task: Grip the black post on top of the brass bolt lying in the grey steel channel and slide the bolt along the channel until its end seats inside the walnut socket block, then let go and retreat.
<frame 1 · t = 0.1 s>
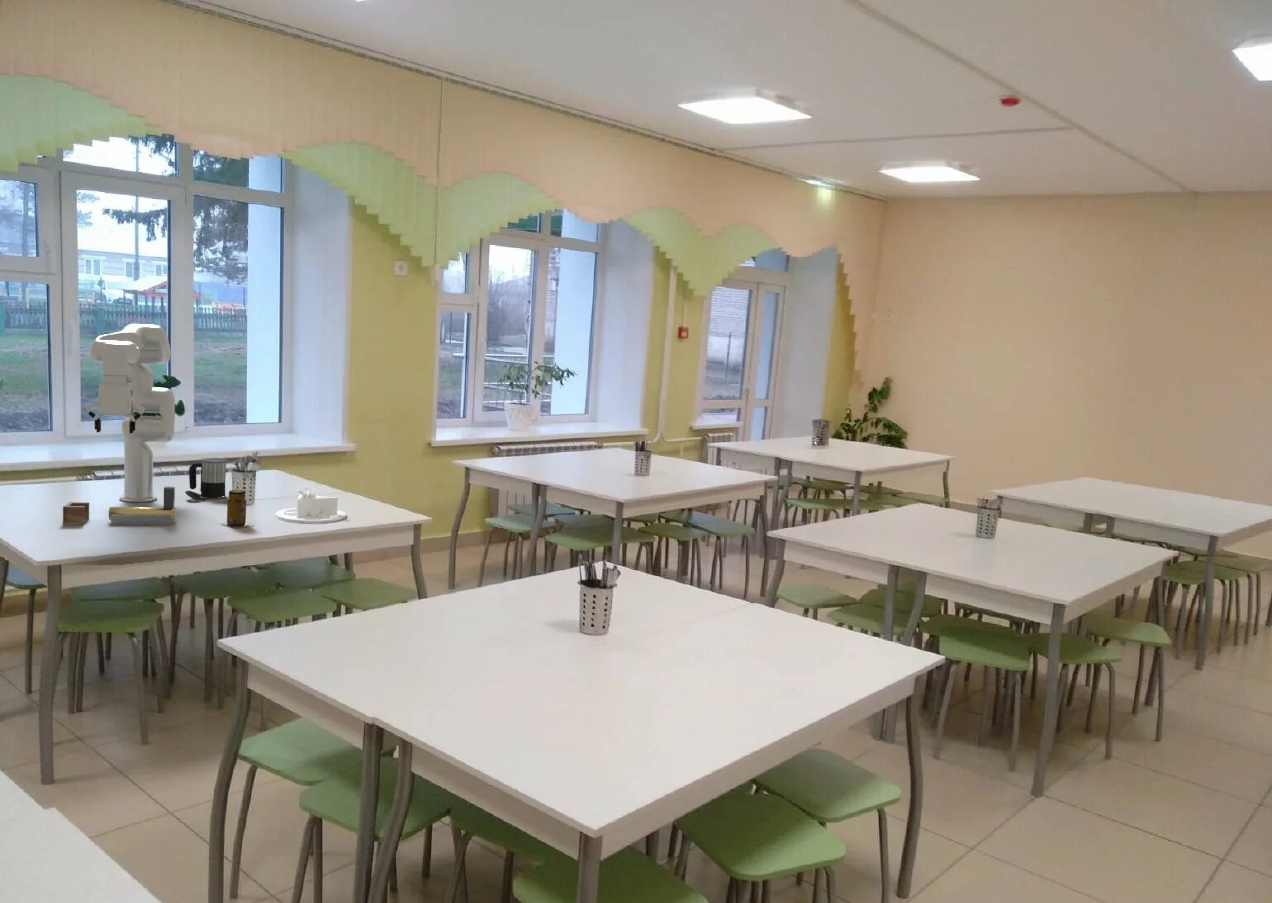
hand: (115, 432, 315), 31 cm above the table, tool pointing down, fingers open, 9 cm apart
milk frother: (206, 498, 373), on the table
condiment: (237, 525, 332), on the table
bolt: (143, 503, 325), point 7 cm above the table, slide at 0.0 cm
channel: (142, 522, 325), on the table
socket: (76, 522, 319), on the table
dish: (310, 517, 355), on the table
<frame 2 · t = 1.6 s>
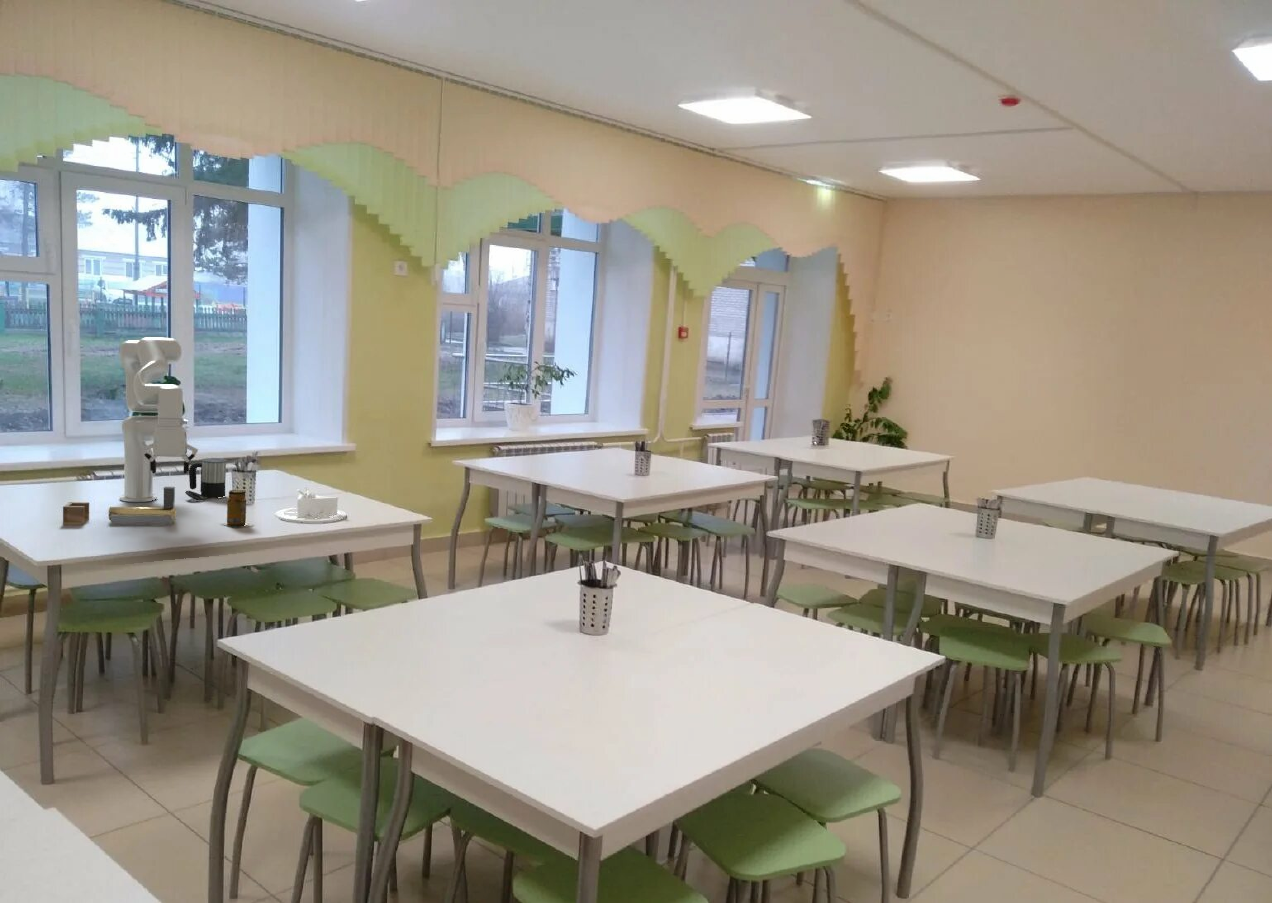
hand: (169, 473, 325), 17 cm above the table, tool pointing down, fingers open, 9 cm apart
nothing on the table moved.
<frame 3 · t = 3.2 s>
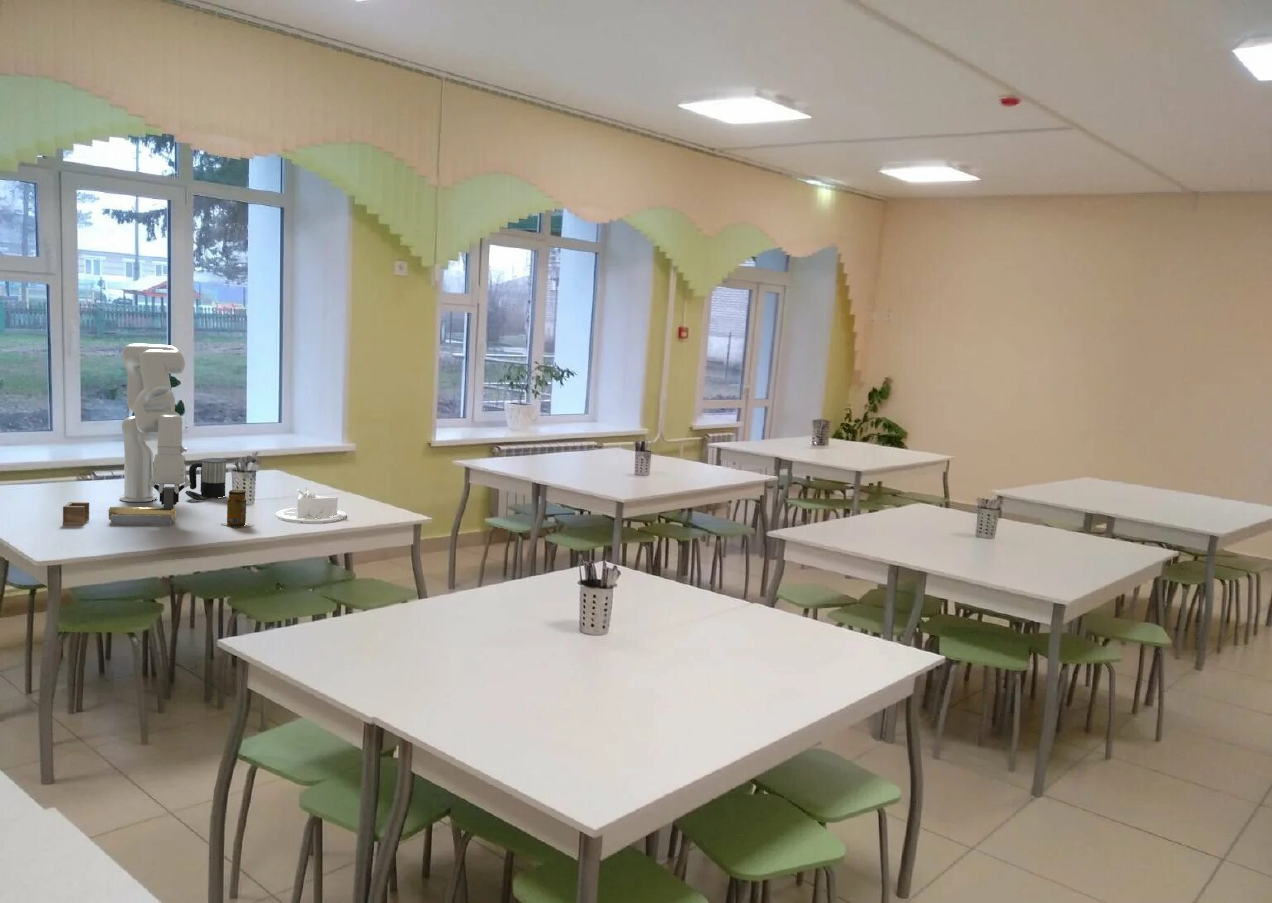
hand: (169, 503, 327), 7 cm above the table, tool pointing down, fingers closed on bolt, 3 cm apart
bolt: (143, 503, 325), point 7 cm above the table, slide at 0.0 cm, touching gripper
everything else where it was.
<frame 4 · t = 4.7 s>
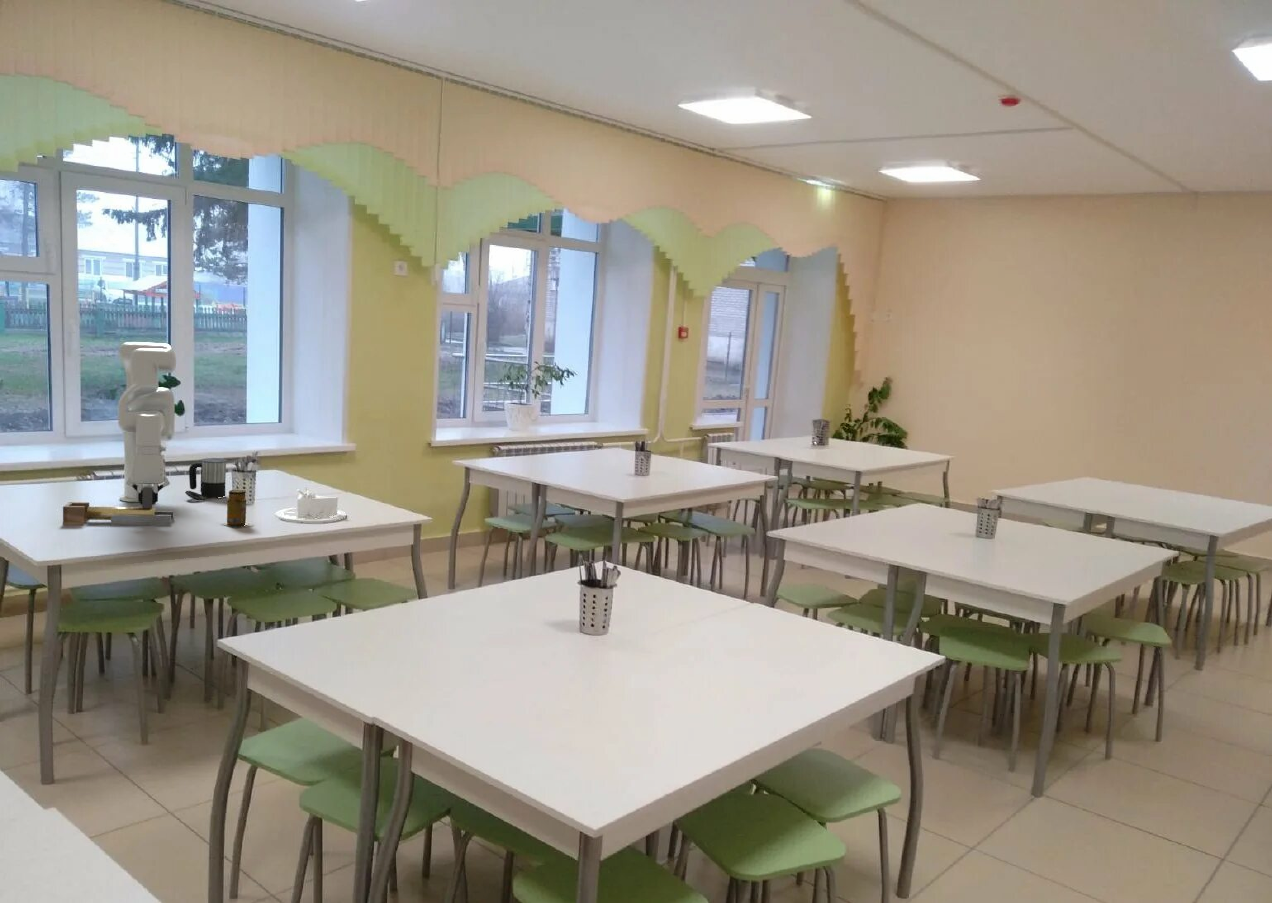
hand: (148, 503, 325), 7 cm above the table, tool pointing down, fingers closed on bolt, 3 cm apart
bolt: (121, 503, 323), point 7 cm above the table, slide at 6.5 cm, touching gripper
everything else where it was.
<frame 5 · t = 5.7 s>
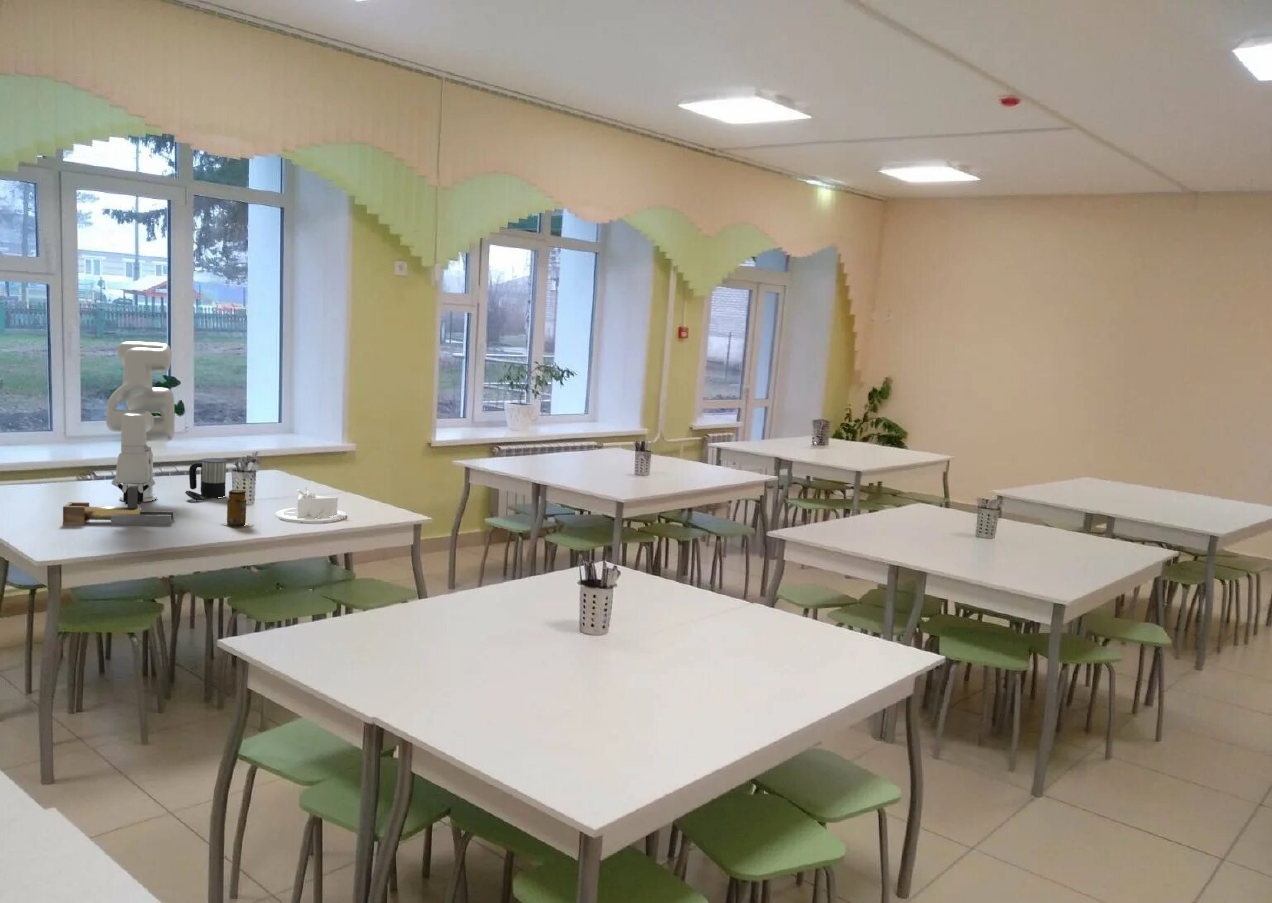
hand: (133, 503, 324), 7 cm above the table, tool pointing down, fingers closed on bolt, 3 cm apart
bolt: (106, 503, 321), point 7 cm above the table, slide at 11.0 cm, touching gripper
everything else where it was.
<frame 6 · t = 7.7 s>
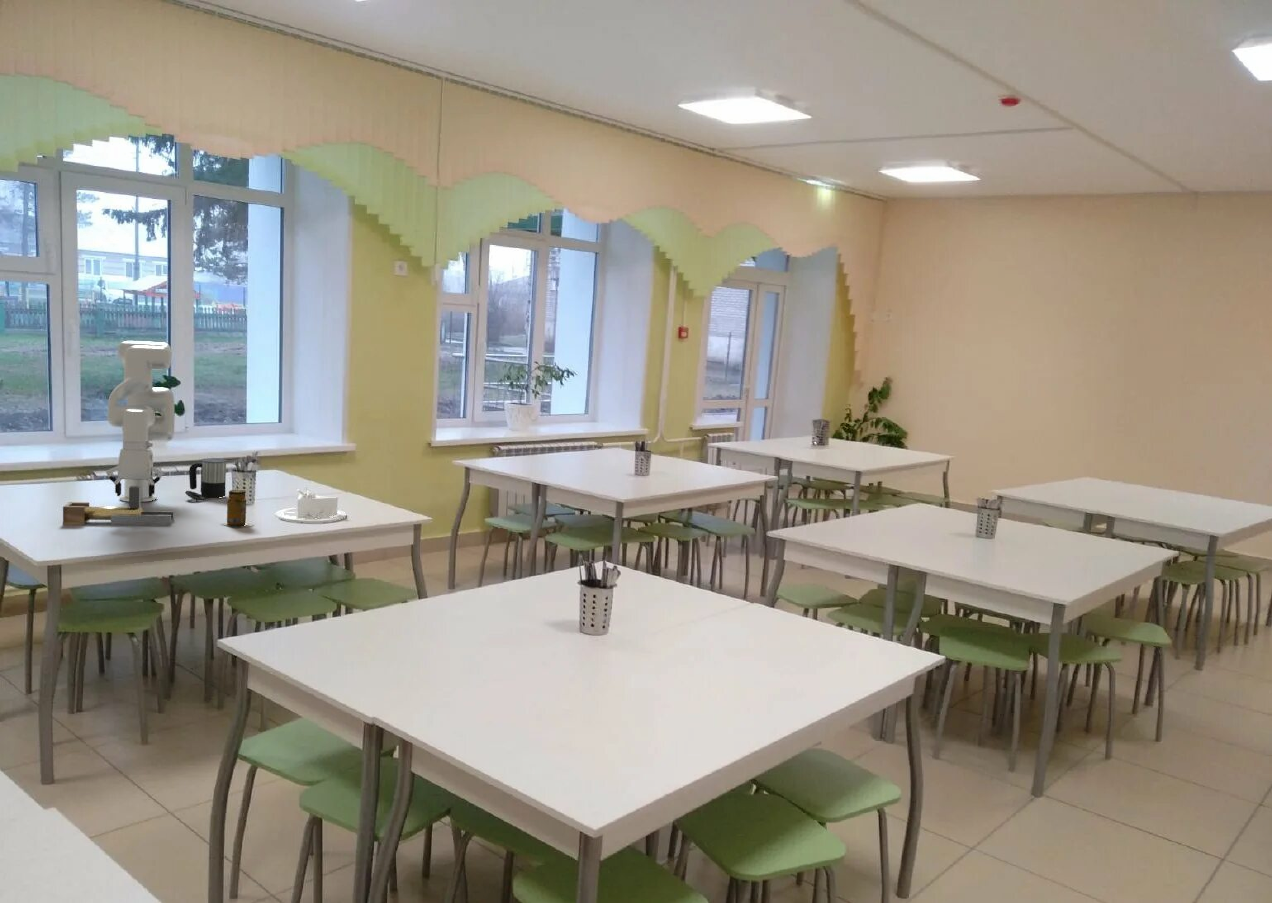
hand: (135, 495, 324), 9 cm above the table, tool pointing down, fingers open, 9 cm apart
bolt: (108, 503, 321), point 7 cm above the table, slide at 10.5 cm
everything else where it was.
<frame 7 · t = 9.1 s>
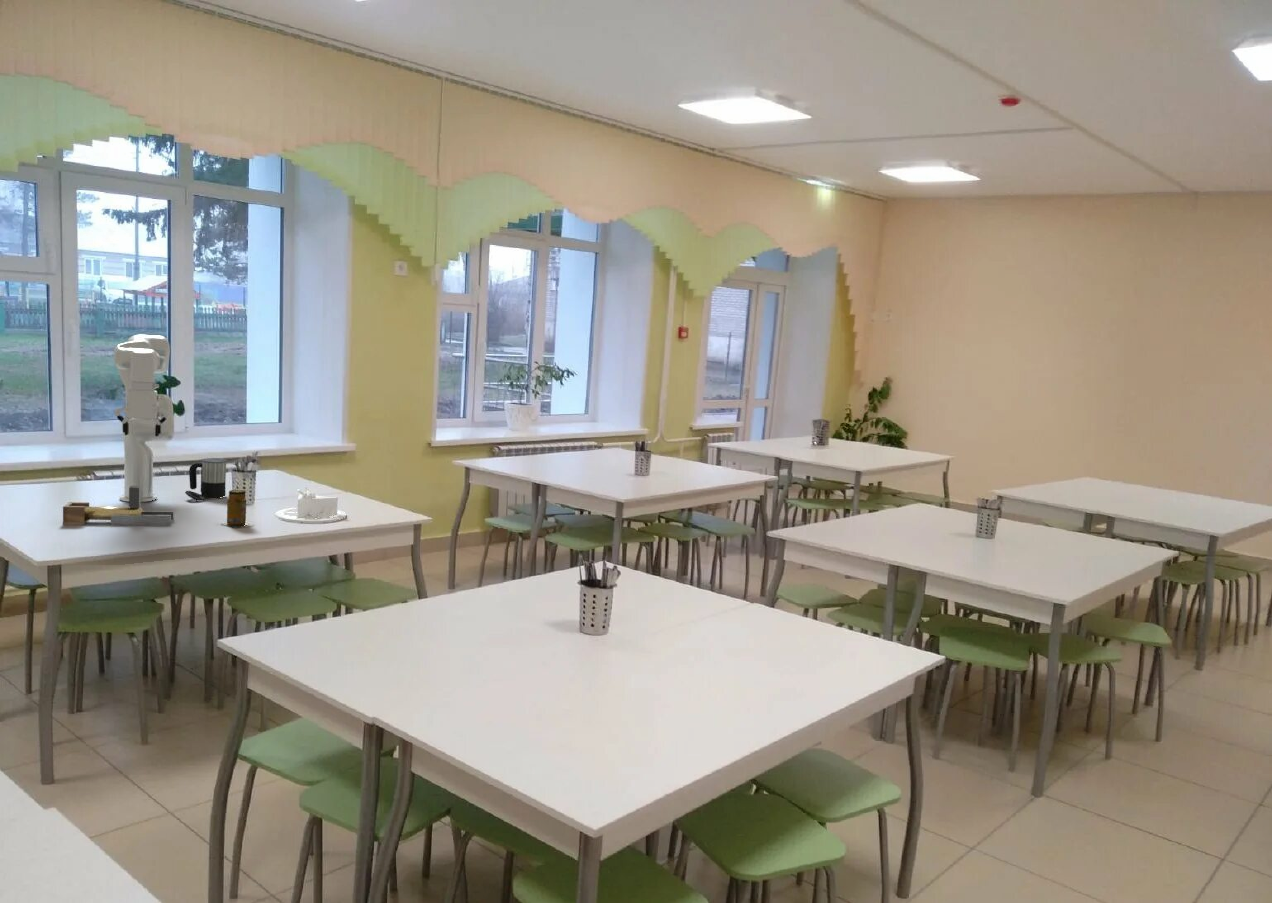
hand: (141, 435, 336), 28 cm above the table, tool pointing down, fingers open, 9 cm apart
nothing on the table moved.
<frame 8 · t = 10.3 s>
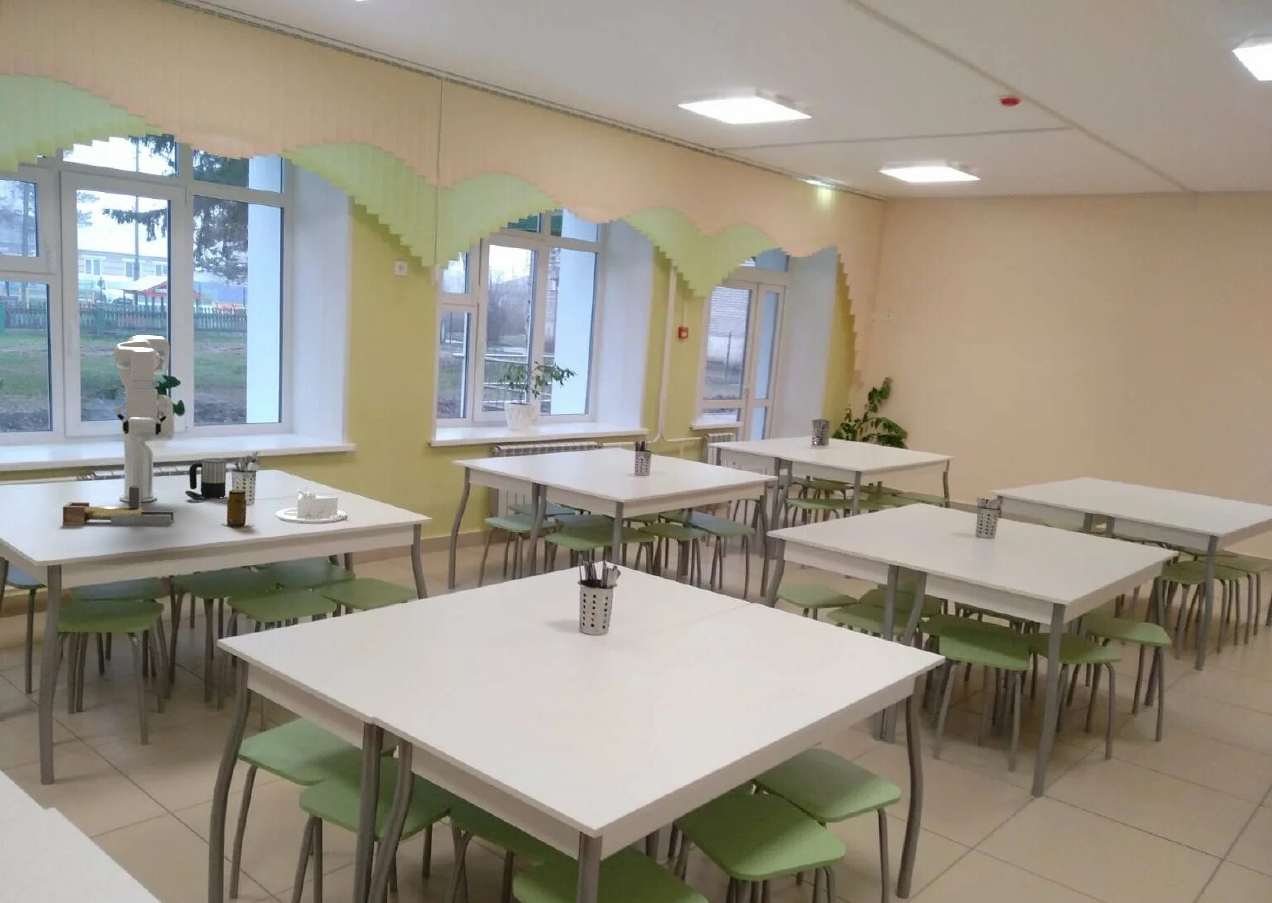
hand: (142, 433, 336), 28 cm above the table, tool pointing down, fingers open, 9 cm apart
nothing on the table moved.
at the end: bolt slide at 10.5 cm; the gripper is holding nothing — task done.
